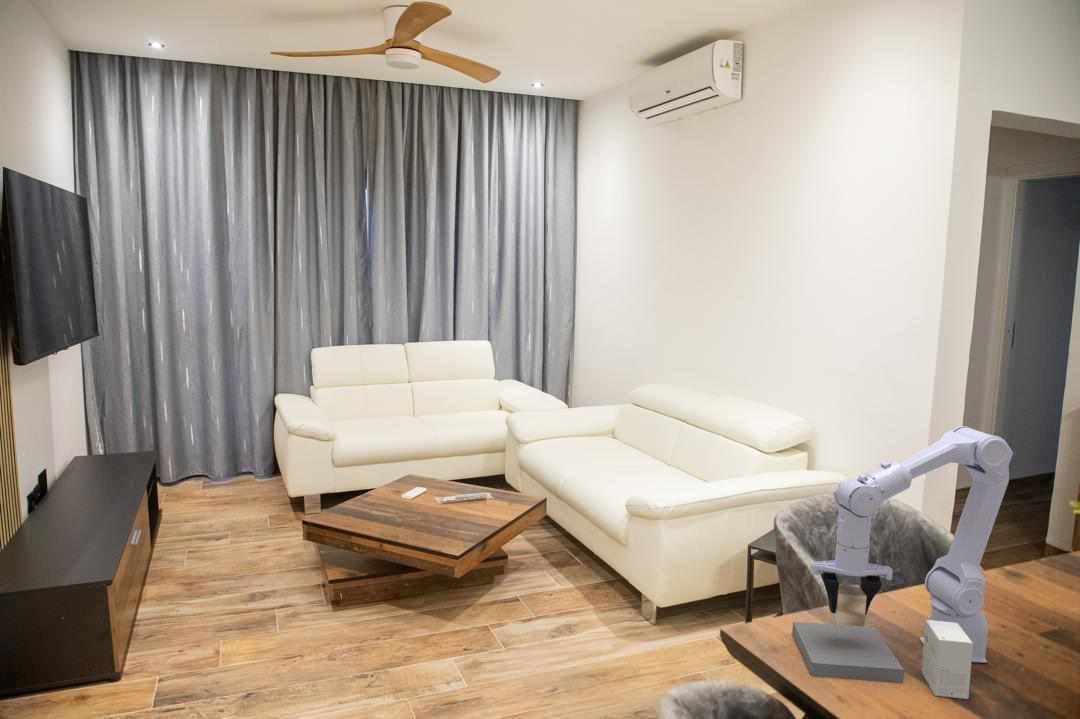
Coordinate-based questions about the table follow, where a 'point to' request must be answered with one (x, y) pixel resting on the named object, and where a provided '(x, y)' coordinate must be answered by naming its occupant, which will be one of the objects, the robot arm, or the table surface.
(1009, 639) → the table surface
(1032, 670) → the table surface
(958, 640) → the small box
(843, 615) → the maple block
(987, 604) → the table surface
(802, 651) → the slate plinth
